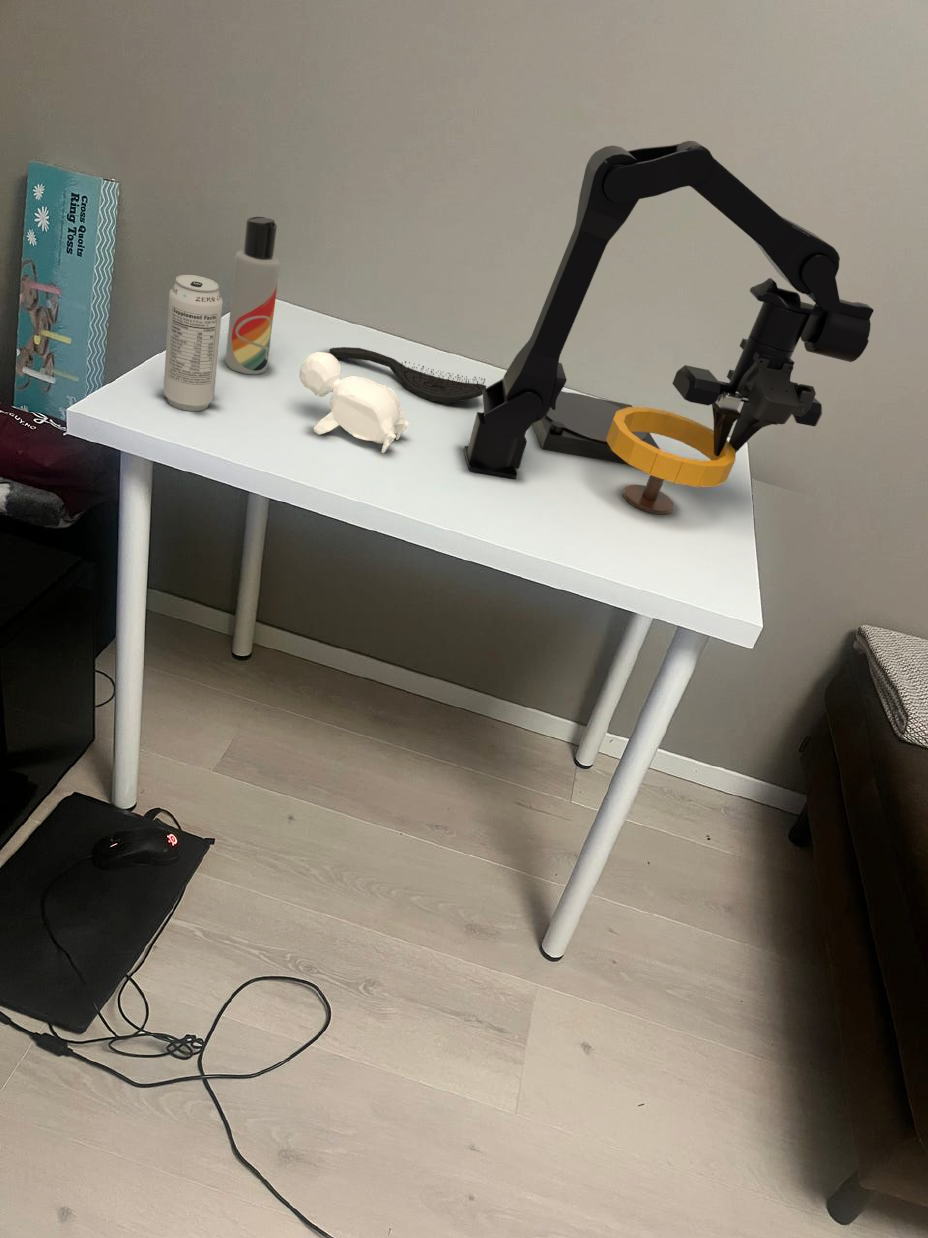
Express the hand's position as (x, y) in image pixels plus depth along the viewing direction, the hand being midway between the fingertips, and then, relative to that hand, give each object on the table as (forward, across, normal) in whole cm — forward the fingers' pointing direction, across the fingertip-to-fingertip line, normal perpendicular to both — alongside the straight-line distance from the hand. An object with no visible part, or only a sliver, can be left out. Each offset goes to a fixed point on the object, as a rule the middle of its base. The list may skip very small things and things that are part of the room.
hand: (721, 455), depth 121 cm
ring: (+1, -8, 0) cm, 8 cm away
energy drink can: (+8, -69, +6) cm, 69 cm away
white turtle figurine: (+8, -49, +6) cm, 50 cm away
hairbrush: (+8, -40, +27) cm, 49 cm away
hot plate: (+8, -12, +20) cm, 25 cm away
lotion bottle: (+8, -63, +21) cm, 67 cm away
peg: (+8, -8, 0) cm, 11 cm away
